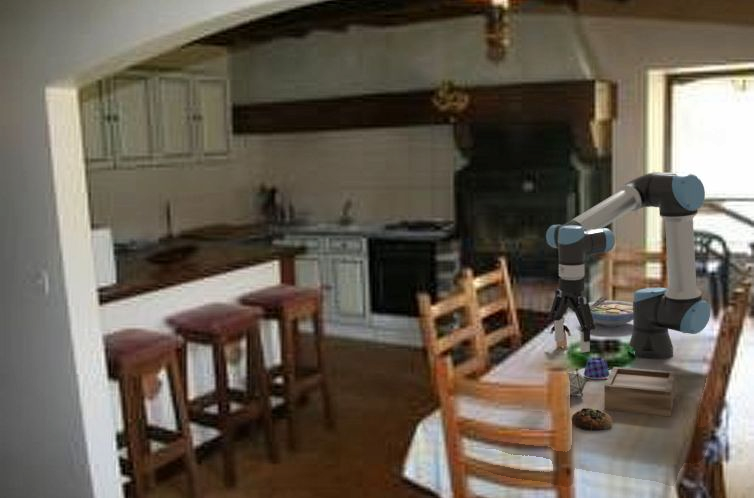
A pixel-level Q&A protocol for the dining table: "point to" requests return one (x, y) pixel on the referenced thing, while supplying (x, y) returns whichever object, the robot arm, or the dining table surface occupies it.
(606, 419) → the bread roll
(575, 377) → the game die
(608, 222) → the robot arm
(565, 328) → the grandmother figurine
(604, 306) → the ramen bowl
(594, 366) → the pudding
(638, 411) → the walnut box
